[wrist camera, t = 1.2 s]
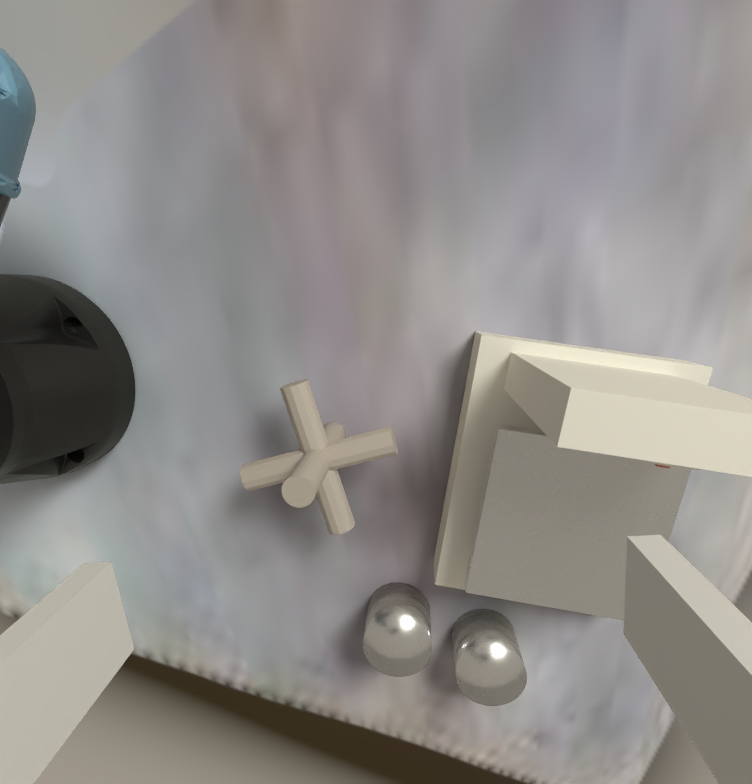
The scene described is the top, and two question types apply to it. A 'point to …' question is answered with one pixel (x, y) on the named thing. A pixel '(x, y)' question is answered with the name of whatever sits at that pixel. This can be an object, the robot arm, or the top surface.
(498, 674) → the cylinder
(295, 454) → the cream toy jack
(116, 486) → the top surface
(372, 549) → the top surface
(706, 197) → the top surface
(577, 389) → the scale base
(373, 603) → the cylinder
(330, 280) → the top surface
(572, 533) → the pan
